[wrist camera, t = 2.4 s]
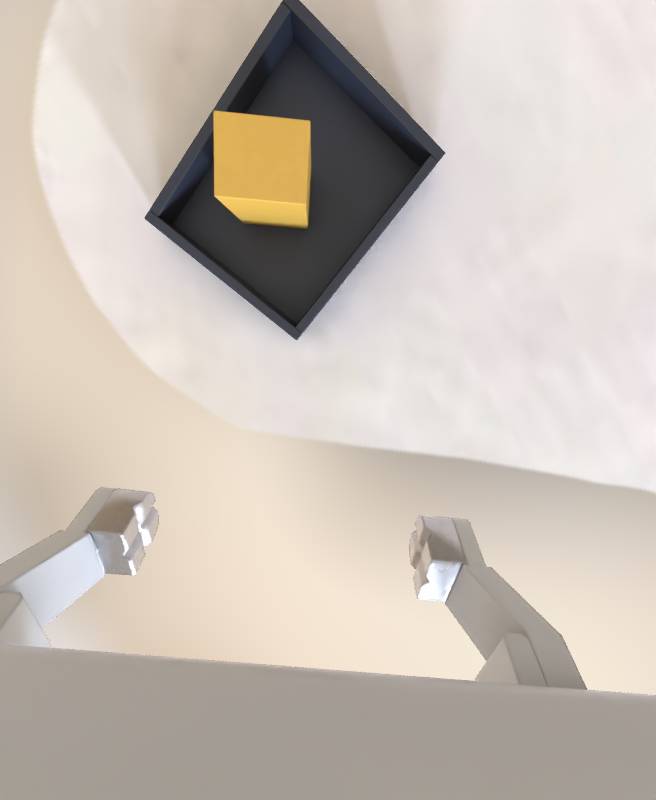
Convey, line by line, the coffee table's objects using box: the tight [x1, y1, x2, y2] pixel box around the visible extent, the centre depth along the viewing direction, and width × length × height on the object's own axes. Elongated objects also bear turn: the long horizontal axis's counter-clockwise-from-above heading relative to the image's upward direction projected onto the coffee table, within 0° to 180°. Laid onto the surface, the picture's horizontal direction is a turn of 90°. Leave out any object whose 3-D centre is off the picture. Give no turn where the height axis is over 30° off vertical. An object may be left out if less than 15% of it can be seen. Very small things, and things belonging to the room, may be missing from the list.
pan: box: [145, 0, 445, 340], centre depth 27 cm, size 16×13×4 cm
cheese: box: [213, 111, 311, 229], centre depth 24 cm, size 5×4×9 cm
